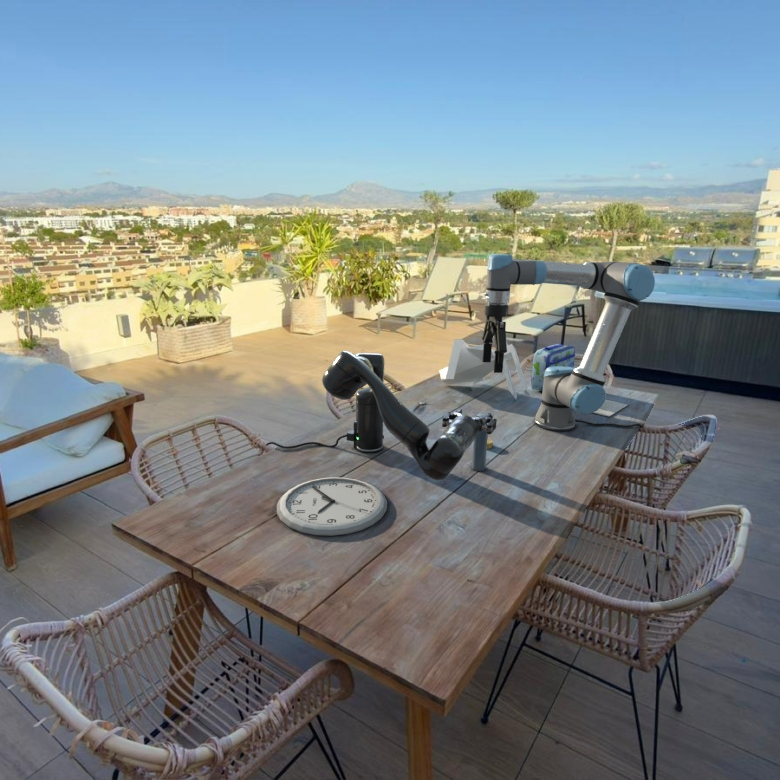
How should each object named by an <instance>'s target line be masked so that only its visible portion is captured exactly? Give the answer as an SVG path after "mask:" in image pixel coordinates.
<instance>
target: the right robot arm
mask: <svg viewBox="0 0 780 780" xmlns="http://www.w3.org/2000/svg"><path fill="white" fill-rule="evenodd" d="M486 271H487V273H486V287H485V292H484V297H485V302H486V303H485V304H484V315H485V324H484V328H483V331H482V336H481V340H482V343H483V344H484V347H483V360H482V362H491V350H493V343H494V345H495V350H496V351H495V352H494V353H495V360H494V370H493V373H494V374H502V373H503V372H504V370H503V360H504V353H506V352H507V345H506V340H507V332H506V331H507V330H506V325H507V322H506V321H503V318H505V317H508V315H509V308H510V307H509V303H510V299H511V298H510V297H511V286H514V285H517V286H519V285H521V286H522V285H523V286H524V285H525V286H526V285H527V286H528V285H529V286H535V285H542V284H549V285H550V284H551V285H563V286H576V287H579V288H581V289H583V290H589V291H590V290H592V291H596V292H599V293H603V294H604V295H603V299H604V301H605V304H604V306H603V308H602V310H601V311H602V312H601V313H600V316H599V319H598V321H597V323H596V325H595V328H594V331H593V333H592V335H591V338H590V340H589V341H588V345H587V346H586V350H585V351H584V354H583V357H582V358H581V361H580V363H579V365H578V367H574V368H573V367H562V366H557V367H549V368H547V369H546V370H545V374H544V382H543V391H541V392H542V394H541V402H540V405H539V407H538V410H537V411H536V413H535V417H534V424H535V425H536V426H537V427H539V428H542V429H544V430H549V431H556V432H567V431H572V430H574V429H575V428H576V423H580V424H586V425H588V426H589V425H590V426H595V427H596V426H597V427H598V426H599V427H601V426H606V427H607V426H609V427H618V428H633V427H639V428H641V429H644V426H643V424H640V423H633V424H617V423H608V422H604V423H603V422H602V423H600V422H598V423H597V422H589V421H587V420H581V419H576V418H575V417H576V416H575V413H574V412H577V413H579V414H582V415H590V414H594V413H593V412H595V411H597V410H598V409H599V408H600V407H601V406H602V405H603V403H604V402H605V399H606V398H607V394H606V390H605V388H604V386H605V384H606V379H605V377H604V374H605V372H606V369H607V367H608V365H609V363H610V360H611V358H612V356H613V353H614V352H615V349H616V346H617V344H618V341H619V339H620V337H621V335H622V332H623V330H624V328H625V325H626V323H627V321H628V319H629V316H630V314H631V312H632V311H633V310H635V309H637V308H639V305H640V303H641V301H643V300H646V299H647V298H648V297H650V296H651V295H652V293H653V292H654V288H655V285H656V280H655V279H656V278H655V275H654V272H653V271H652V269H651V268H650V267H649V266H648V265H646V264H642V263H638V262H624V261H623V262H622V261H616V260H615V261H614V260H613V261H599V262H598V261H597V262H595V261H586V262H584V263H583V264H582V263H571V262H570V263H569V262H559V261H548V260H547V261H546V260H535V259H521V258H514V257H513V255H512V254H506V253H505V254H504V253H493V254H490V255H489V257H488V261H487V267H486ZM493 339H494V341H493ZM606 400H607V399H606Z"/></svg>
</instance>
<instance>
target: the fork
mask: <svg viewBox="0 0 780 780" xmlns="http://www.w3.org/2000/svg"><path fill="white" fill-rule="evenodd" d="M427 399H428V397H424V396H422V397H421V398H420V400H419V402H418V403H419V404H417V405H416V406H415V408H413V412H415V411H416V410H419V408H420V406H421V405H425V404H426V403H427Z"/></svg>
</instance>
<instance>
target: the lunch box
mask: <svg viewBox="0 0 780 780" xmlns="http://www.w3.org/2000/svg"><path fill="white" fill-rule="evenodd" d="M575 357H576V349H575V346H572V345H565V344H560V343H555V344H552V345H547V346H545V347H542V348H539V349H537V350H536V351H535V353H534V355H533V358H532V363H531V364H532V365H531V376H530V377H531V378H530V387H531V389H532V390H536V391H539V392H540V391H541V392H543V382H544V374H545V370H546V369H547V368H549V367H557V366H562V367H573V368H575V360H576V358H575Z"/></svg>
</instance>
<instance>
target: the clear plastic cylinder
mask: <svg viewBox="0 0 780 780" xmlns="http://www.w3.org/2000/svg"><path fill="white" fill-rule="evenodd" d="M487 415H488V413H487V414H486V413H477V414H476V417H475V418H477V417H483V418H485V417H486V416H487ZM479 422H480V421H479ZM485 424H486V421H485ZM488 439H489V434H487V432H486V431H484V430H482V431H481V432H478V434H477V436H476V438H475V439H474V441H473V447H472V461H471V469H472V470H473V471H477V472H482V471H485V470H486V464H487V453H488V449H487V441H488Z"/></svg>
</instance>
